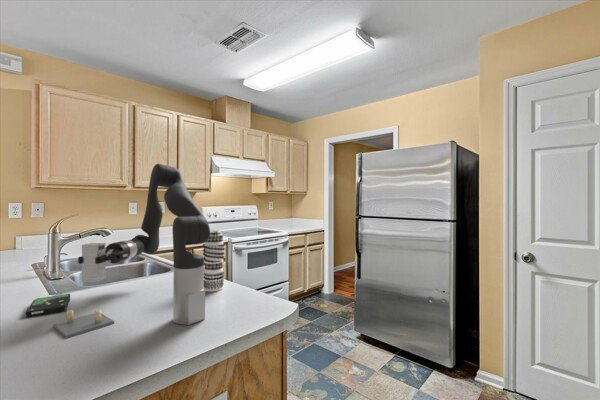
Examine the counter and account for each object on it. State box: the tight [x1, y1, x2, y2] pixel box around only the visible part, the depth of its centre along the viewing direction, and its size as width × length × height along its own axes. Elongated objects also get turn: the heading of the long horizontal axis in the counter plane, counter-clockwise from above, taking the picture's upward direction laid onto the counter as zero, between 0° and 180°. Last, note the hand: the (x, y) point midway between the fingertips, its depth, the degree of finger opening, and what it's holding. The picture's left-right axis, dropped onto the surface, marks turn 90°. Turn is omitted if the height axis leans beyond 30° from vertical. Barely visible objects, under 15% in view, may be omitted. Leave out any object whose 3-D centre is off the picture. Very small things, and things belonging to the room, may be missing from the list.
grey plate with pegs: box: [52, 309, 115, 339], centre depth 89 cm, size 12×12×4 cm
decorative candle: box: [202, 229, 226, 292], centre depth 126 cm, size 9×9×25 cm
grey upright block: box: [81, 242, 107, 283], centre depth 96 cm, size 5×4×12 cm
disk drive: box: [25, 293, 71, 319], centre depth 102 cm, size 10×3×15 cm
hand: (88, 260), depth 94 cm, fingers closed on grey upright block, 5 cm apart
